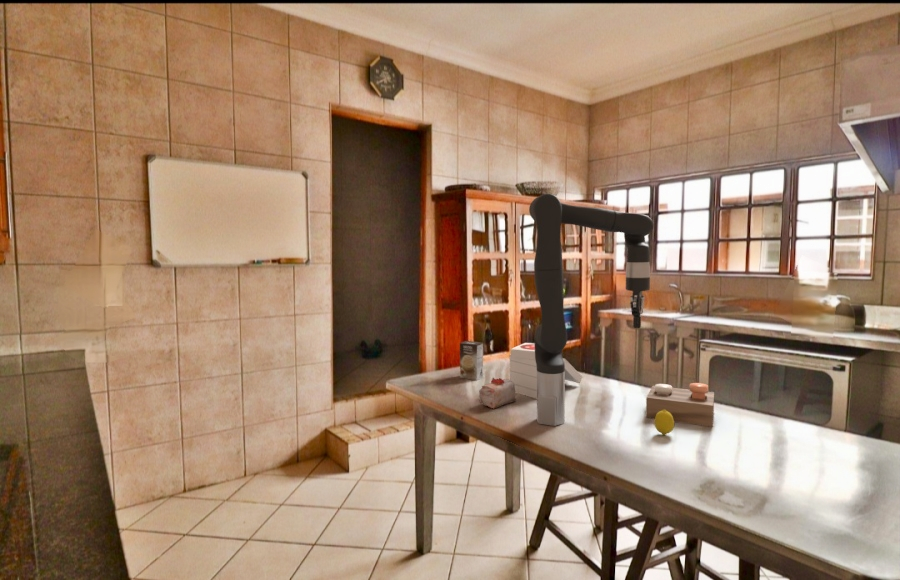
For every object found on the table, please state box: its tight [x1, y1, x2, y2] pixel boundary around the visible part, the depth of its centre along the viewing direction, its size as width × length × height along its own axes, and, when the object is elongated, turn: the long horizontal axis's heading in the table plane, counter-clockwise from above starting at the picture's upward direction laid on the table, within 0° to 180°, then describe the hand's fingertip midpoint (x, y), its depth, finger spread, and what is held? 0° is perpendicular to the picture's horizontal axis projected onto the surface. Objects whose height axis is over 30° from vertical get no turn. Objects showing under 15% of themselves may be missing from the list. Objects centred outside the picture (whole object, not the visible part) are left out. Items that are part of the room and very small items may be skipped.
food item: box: [478, 377, 517, 410], centre depth 187 cm, size 14×8×10 cm, turn 133°
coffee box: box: [459, 340, 484, 381], centre depth 225 cm, size 9×6×16 cm
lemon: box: [654, 410, 675, 436], centre depth 154 cm, size 6×6×8 cm
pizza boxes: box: [509, 342, 583, 400], centre depth 206 cm, size 19×30×18 cm, turn 127°
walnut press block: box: [645, 385, 715, 428], centre depth 171 cm, size 16×20×7 cm
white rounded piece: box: [654, 383, 673, 396], centre depth 174 cm, size 6×6×8 cm
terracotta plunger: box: [689, 382, 709, 400], centre depth 169 cm, size 6×6×8 cm
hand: (637, 327), depth 167 cm, fingers closed
